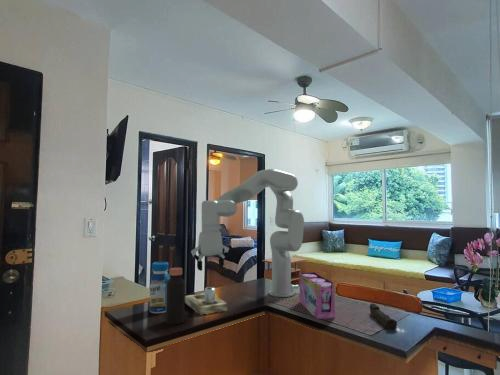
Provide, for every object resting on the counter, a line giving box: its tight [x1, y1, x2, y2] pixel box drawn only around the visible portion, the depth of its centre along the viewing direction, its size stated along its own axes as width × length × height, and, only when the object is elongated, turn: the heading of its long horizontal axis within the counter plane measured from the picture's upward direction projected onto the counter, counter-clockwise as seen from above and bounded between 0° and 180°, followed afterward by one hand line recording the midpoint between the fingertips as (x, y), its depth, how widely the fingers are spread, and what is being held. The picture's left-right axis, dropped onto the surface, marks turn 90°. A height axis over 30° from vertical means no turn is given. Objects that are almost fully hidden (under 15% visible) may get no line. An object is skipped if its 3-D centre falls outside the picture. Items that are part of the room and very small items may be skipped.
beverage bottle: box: [148, 261, 170, 314], centre depth 135 cm, size 8×8×20 cm
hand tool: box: [369, 303, 398, 331], centre depth 122 cm, size 19×4×5 cm, turn 178°
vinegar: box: [165, 267, 186, 326], centre depth 122 cm, size 7×7×20 cm
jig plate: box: [184, 292, 228, 316], centre depth 140 cm, size 12×20×3 cm, turn 30°
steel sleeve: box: [204, 286, 216, 305], centre depth 136 cm, size 4×4×9 cm
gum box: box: [299, 271, 336, 319], centre depth 136 cm, size 24×8×14 cm, turn 9°
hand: (210, 268), depth 137 cm, fingers open, 9 cm apart
